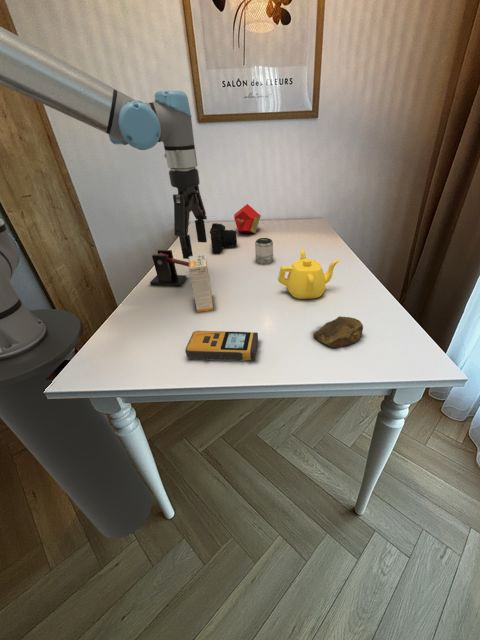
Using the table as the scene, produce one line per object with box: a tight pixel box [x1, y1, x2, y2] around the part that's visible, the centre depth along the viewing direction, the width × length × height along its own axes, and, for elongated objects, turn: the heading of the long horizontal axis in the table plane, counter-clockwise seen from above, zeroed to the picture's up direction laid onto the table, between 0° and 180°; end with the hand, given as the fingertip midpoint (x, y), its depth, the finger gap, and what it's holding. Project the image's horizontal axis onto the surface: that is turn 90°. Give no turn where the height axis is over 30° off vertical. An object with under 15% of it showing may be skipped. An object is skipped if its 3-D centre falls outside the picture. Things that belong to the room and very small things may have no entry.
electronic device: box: [185, 330, 259, 362], centre depth 71 cm, size 8×16×3 cm, turn 85°
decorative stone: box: [312, 315, 364, 349], centre depth 74 cm, size 10×9×4 cm
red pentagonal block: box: [233, 203, 262, 234], centre depth 134 cm, size 12×12×15 cm
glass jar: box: [254, 237, 274, 265], centre depth 110 cm, size 6×6×8 cm
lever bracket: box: [149, 249, 187, 288], centre depth 99 cm, size 10×6×10 cm, turn 82°
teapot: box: [277, 248, 341, 300], centre depth 91 cm, size 14×13×10 cm
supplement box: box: [188, 254, 214, 313], centre depth 85 cm, size 8×5×13 cm, turn 11°
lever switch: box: [157, 253, 189, 268], centre depth 97 cm, size 14×5×2 cm, turn 82°
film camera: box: [209, 222, 238, 255], centre depth 122 cm, size 15×10×9 cm, turn 1°
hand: (195, 249), depth 93 cm, fingers open, 13 cm apart
